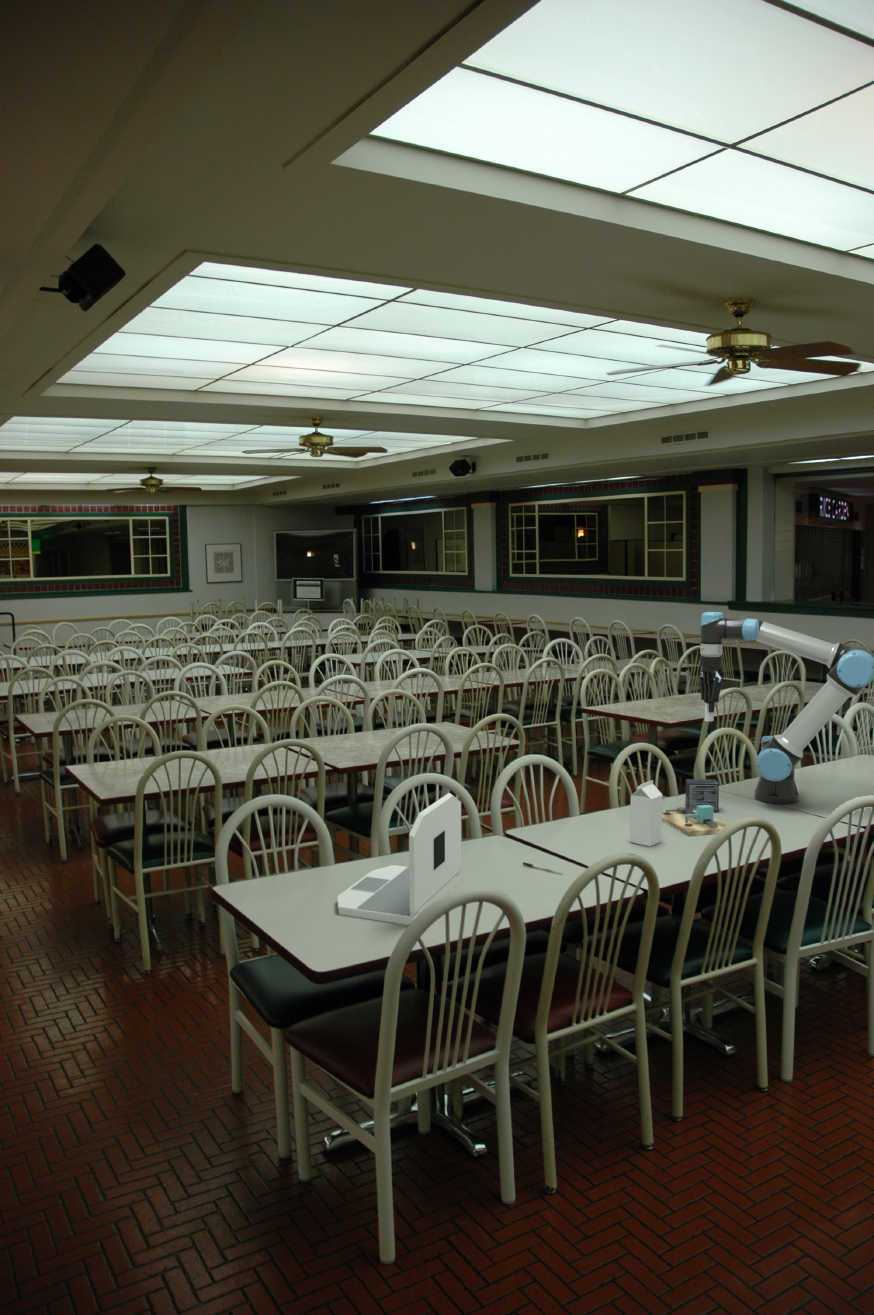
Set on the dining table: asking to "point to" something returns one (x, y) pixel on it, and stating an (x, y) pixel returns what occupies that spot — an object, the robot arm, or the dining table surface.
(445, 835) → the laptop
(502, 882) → the dining table surface
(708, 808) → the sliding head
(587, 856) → the dining table surface
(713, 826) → the beam
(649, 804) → the milk carton
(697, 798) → the small box
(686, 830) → the board
